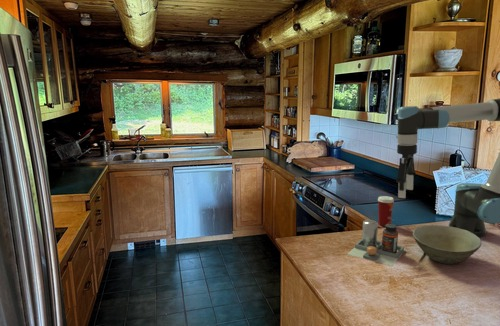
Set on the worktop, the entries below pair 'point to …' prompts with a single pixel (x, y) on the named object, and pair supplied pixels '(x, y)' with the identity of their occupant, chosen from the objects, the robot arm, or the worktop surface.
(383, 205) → the paper cup
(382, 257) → the pale green compartment tray
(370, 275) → the worktop surface
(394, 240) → the supplement bottle
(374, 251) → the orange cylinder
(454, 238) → the bowl
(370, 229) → the cylinder
